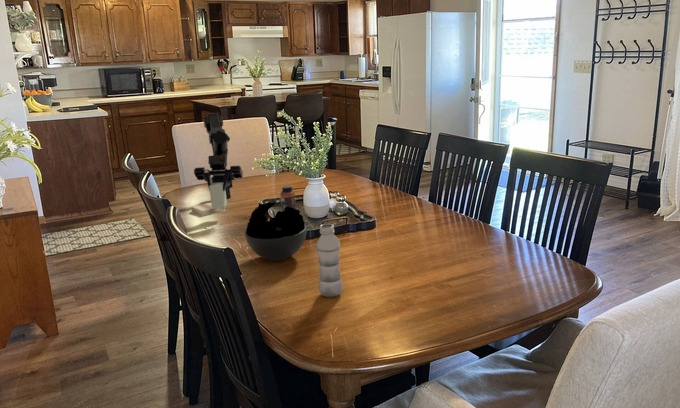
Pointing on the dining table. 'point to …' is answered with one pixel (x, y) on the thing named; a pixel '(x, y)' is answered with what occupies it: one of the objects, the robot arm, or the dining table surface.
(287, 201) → the supplement bottle
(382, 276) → the dining table surface
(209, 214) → the base slab
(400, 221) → the dining table surface
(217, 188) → the sage block
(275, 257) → the bowl of black rocks
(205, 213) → the birch slab
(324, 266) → the plastic bottle
